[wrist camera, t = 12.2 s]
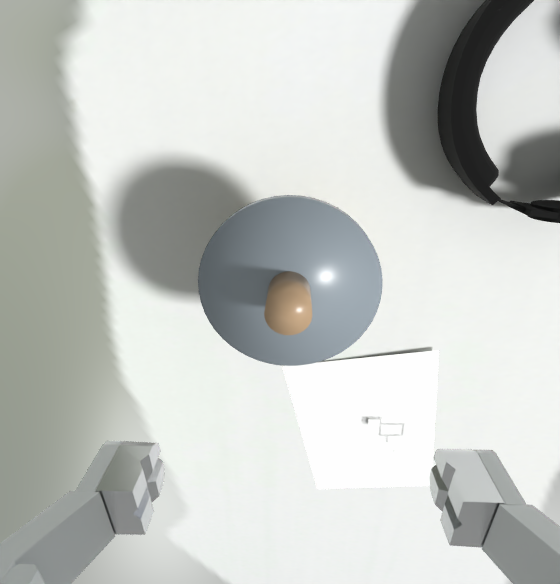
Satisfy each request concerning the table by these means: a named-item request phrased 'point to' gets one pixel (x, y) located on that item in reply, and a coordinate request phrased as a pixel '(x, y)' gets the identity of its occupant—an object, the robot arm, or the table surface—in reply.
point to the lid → (290, 280)
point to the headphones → (463, 99)
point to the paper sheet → (367, 419)
